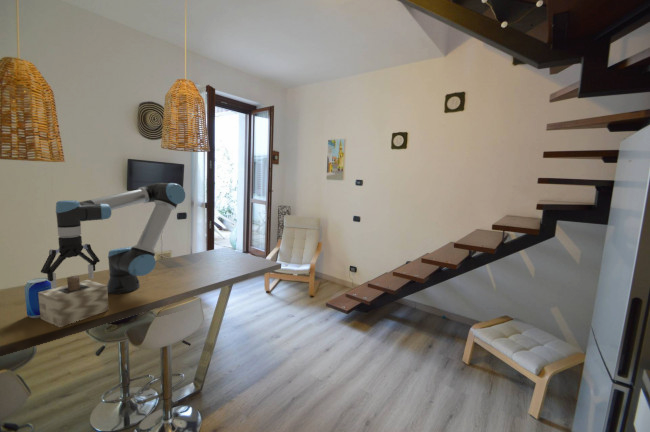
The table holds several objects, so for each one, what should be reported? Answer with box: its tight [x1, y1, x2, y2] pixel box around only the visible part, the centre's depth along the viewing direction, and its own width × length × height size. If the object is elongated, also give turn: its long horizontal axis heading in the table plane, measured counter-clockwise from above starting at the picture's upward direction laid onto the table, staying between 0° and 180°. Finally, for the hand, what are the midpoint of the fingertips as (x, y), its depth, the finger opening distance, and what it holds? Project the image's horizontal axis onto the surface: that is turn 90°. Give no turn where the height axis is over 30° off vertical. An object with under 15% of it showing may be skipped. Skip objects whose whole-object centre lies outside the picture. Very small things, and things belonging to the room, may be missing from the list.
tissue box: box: [38, 279, 110, 328], centre depth 127 cm, size 18×16×12 cm
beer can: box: [23, 277, 53, 319], centre depth 125 cm, size 8×8×16 cm
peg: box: [66, 275, 80, 292], centre depth 126 cm, size 4×4×11 cm
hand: (73, 282), depth 126 cm, fingers open, 13 cm apart
